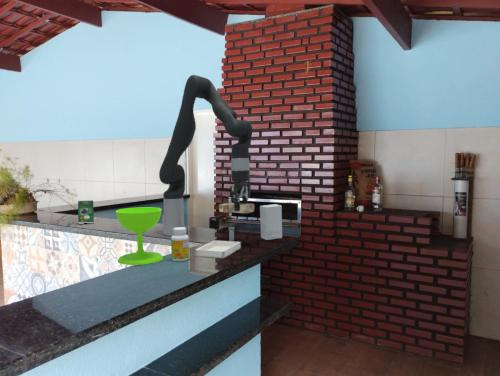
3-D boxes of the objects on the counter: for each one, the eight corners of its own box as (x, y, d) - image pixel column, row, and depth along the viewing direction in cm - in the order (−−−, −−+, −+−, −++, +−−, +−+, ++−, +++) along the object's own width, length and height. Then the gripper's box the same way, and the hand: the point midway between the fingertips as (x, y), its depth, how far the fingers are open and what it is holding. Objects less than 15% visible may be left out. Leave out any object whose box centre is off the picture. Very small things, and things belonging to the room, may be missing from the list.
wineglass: (108, 263, 147) (106, 212, 145) (132, 253, 162) (131, 206, 161) (149, 266, 143) (147, 213, 141) (170, 255, 158) (169, 207, 156)
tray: (194, 256, 155) (194, 249, 155) (214, 246, 172) (214, 240, 172) (223, 258, 152) (223, 251, 151) (240, 248, 168) (240, 241, 168)
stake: (228, 243, 177) (227, 227, 176) (229, 242, 178) (229, 226, 178) (233, 244, 176) (233, 227, 175) (235, 243, 178) (234, 227, 177)
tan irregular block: (217, 212, 173) (217, 204, 172) (226, 209, 179) (226, 202, 179) (246, 213, 167) (246, 206, 167) (254, 211, 174) (254, 204, 173)
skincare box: (276, 236, 192) (275, 203, 190) (282, 238, 186) (282, 205, 185) (259, 238, 188) (259, 205, 187) (266, 240, 182) (265, 206, 181)
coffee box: (93, 222, 238) (92, 199, 237) (94, 223, 235) (93, 200, 234) (78, 224, 234) (77, 200, 233) (79, 224, 232) (77, 201, 230)
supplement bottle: (167, 260, 151) (167, 228, 150) (180, 256, 156) (179, 226, 155) (180, 262, 147) (179, 230, 146) (192, 258, 152) (192, 227, 151)
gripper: (240, 168, 179) (240, 207, 181) (223, 170, 167) (224, 211, 168) (256, 168, 176) (256, 208, 177) (240, 170, 163) (241, 212, 165)
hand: (241, 209), depth 173 cm, fingers closed on tan irregular block, 6 cm apart
